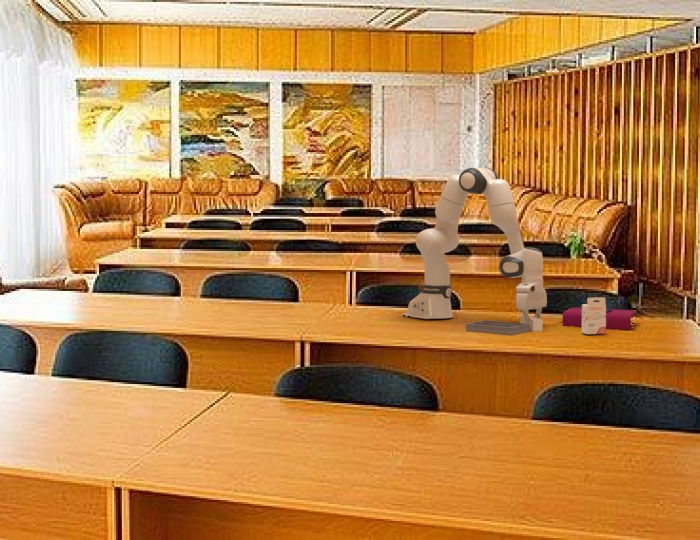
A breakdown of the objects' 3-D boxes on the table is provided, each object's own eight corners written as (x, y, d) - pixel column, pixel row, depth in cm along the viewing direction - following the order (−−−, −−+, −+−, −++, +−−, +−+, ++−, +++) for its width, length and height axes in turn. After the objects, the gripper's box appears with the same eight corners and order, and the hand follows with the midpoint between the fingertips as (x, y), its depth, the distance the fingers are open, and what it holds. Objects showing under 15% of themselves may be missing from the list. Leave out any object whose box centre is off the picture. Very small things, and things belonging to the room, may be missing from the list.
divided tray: (466, 330, 435) (466, 323, 435) (484, 327, 447) (484, 320, 447) (511, 335, 422) (511, 327, 422) (529, 331, 434) (529, 324, 434)
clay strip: (519, 327, 450) (520, 315, 450) (528, 327, 451) (529, 315, 450) (533, 332, 434) (533, 320, 434) (542, 331, 435) (542, 319, 435)
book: (630, 332, 437) (630, 314, 436) (562, 328, 447) (562, 310, 446) (636, 326, 456) (636, 308, 456) (570, 323, 466) (571, 305, 466)
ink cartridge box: (599, 332, 434) (600, 296, 432) (605, 333, 429) (606, 297, 428) (580, 332, 431) (581, 296, 430) (586, 334, 426) (587, 297, 425)
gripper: (537, 284, 451) (537, 316, 452) (513, 287, 435) (513, 321, 436) (550, 285, 447) (550, 317, 448) (527, 288, 431) (527, 322, 432)
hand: (532, 319), depth 442 cm, fingers open, 8 cm apart
